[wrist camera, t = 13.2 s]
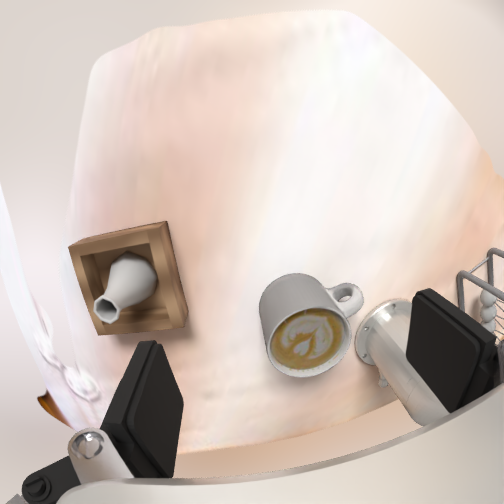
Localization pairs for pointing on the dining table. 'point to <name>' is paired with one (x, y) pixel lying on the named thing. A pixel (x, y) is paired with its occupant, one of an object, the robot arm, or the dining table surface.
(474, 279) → the newton's cradle
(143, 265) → the flask
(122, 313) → the walnut well
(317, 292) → the coffee mug
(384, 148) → the dining table surface
